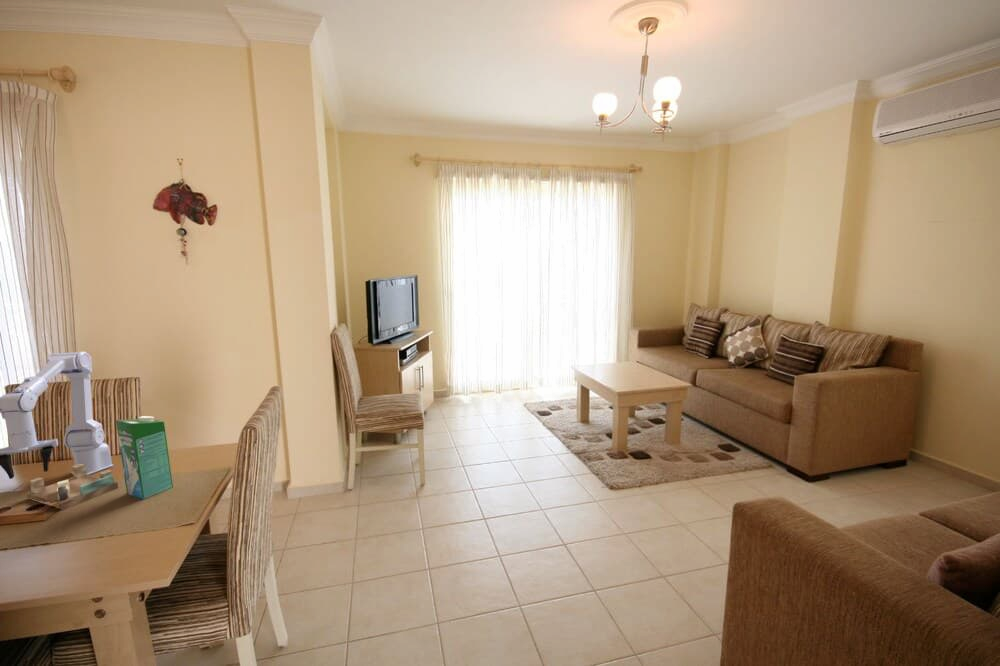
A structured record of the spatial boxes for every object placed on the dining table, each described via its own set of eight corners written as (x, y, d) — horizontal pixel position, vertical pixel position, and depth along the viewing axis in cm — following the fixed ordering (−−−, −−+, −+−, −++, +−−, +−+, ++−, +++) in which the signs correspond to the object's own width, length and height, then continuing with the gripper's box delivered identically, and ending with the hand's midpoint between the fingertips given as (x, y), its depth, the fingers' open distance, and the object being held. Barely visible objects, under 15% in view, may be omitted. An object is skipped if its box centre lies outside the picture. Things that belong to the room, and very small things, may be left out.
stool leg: (69, 498, 142) (67, 486, 141) (58, 501, 140) (56, 489, 140) (69, 487, 149) (67, 476, 149) (59, 490, 148) (57, 479, 147)
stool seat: (84, 478, 160) (81, 462, 159) (118, 487, 153) (115, 470, 152) (28, 499, 147) (24, 481, 146) (61, 509, 139) (58, 491, 138)
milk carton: (173, 486, 153) (163, 414, 149) (142, 499, 145) (131, 423, 141) (157, 482, 156) (147, 411, 153) (126, 494, 148) (115, 420, 145)
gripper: (-18, 441, 131) (-9, 485, 133) (52, 429, 140) (59, 471, 142) (-11, 434, 137) (-3, 477, 139) (56, 423, 146) (63, 464, 148)
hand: (29, 473), depth 141 cm, fingers open, 7 cm apart
